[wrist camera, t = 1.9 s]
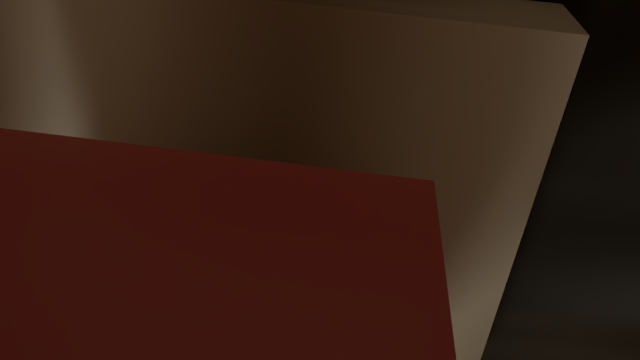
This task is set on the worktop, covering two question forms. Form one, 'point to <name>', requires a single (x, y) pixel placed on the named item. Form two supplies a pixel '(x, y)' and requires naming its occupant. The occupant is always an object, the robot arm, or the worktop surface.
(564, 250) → the worktop surface
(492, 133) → the post stand
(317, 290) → the red cuboid block
